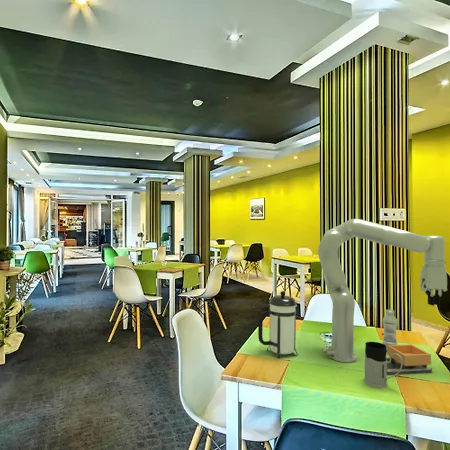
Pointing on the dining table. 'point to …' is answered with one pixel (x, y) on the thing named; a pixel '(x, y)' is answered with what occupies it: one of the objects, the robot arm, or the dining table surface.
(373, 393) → the dining table surface
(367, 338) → the dining table surface
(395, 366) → the grey flat slab
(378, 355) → the grey mug
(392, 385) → the dining table surface
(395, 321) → the plastic bottle
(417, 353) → the orange open tray
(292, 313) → the coffee press
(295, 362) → the dining table surface
